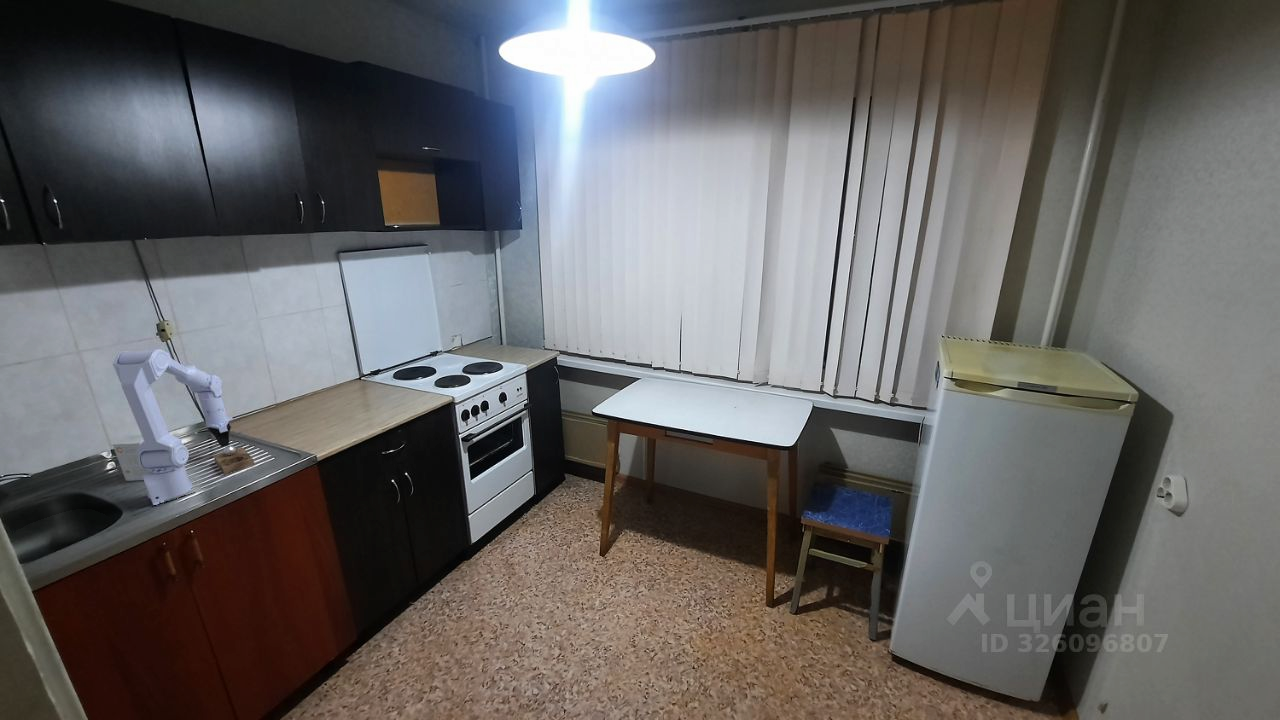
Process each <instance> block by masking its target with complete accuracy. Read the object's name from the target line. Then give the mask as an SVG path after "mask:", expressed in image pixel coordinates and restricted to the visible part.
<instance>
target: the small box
mask: <svg viewBox="0 0 1280 720" xmlns="http://www.w3.org/2000/svg"><path fill="white" fill-rule="evenodd" d="M143 442H144V439H143V436H142V434H140V435H129V436H126V437H125V438H122V439H120V440H119V441H116V442H114V443H113V444H112V445H111V446H112V447H113V449H114V452H115V455H116V458H117V461H118V462H119V465H120V466H119V467H120V468H121V471H122V473H123V476H124V479H125V481H126V482H130V481H144V480H143V477H142V475H144V474H147V473H149V472H148V471H147V469H143V468H142V467H141V466H140V465H139V463H138V453H137V451H136V449H137V448H138V446H139V445H140V444H142V443H143Z"/></svg>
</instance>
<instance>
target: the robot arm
mask: <svg viewBox="0 0 1280 720" xmlns="http://www.w3.org/2000/svg"><path fill="white" fill-rule="evenodd" d="M112 366H113V367H114V370H115V372H116V375H117V377H118V380H119V382H120V385H121V389H122V390H123V393H124V396H125V397H126V400H127V403H128V405H129V407H130V410H131V412H132V415H133V416H134V420H135V422H136V424H137V427H138V429H139V431H140V435H142V436H143V439H144V442H143V443H142V444H140V445H139V446H138V448H137V449H136V451H137V453H138V463H139V465H140V466H141V467H142V468H143V469H147V471H148V472H149V473H147V474H144V475H142V477H143V480H142V481H143V482H144V484H145V487H146V489H147V492H146V495H147V498H148V499H150V501H151V503H152V506H153V505H157V504H159V502H161V503H162V502H164V500H166V499H169V498H172V497H176V496H178V495H181V494H183V493H186V492H187V491H189V490H191V488H192V487H194V485H193V483H192V482H191V481H190V478H189V475H188V472H187V469H186V466H185V464H187V462H188V460H189V456H190V452H189V450H188V447H187V446H185V445H184V443H183V441H182V439H181V438H178V437H176V436H174V435H172V434H170V432H169V430H168V427H167V425H166V422H165V420H164V417H163V414H162V412H161V410H160V406H159V404H158V401H157V399H156V396H155V395H154V391H153V389H152V384H153V383H155V382H157V381H158V380H159V379H160V378H161V376H162V375H163V374H164V373H167V374H170V375H172V376H174V377H175V380H176V381H177V382H178V383H181V384H183V385H184V386H185V385H186V386H187V387H189V390H191V392H192V393H194V394H195V393H196V394H197V397H198V401H199V404H200V407H201V411H202V414H203V417H204V419H205V426H206V427H208V428H207V430H208V432H210V434H212V436H213V437H214V438H215V439H216V441H217V443H218V444H219V446H220V447H221V448H224V447H227V446H230V445H229V444H230V431H231V429H232V426H231V424H230V423H229V422H230V421H233V420H234V418H233V416H228V414H227V410H226V406H225V403H224V401H223V396H222V394H223V389H222V387H223V381H222V379H221V378H220V376H218V375H216V374H208V373H207V372H206V371H204V370H200V369H199V368H197V367H196V366H197V365H193V364H191V365H183V364H181V363H180V362H178V361H177V360H175V359H173V358H172V357H171V355H170V352H167V351H165V350H164V349H160V348H159V349H153V350H150V349H149V350H133V351H129V350H122V351H120V352H119V353H118V354H117V355H116V357H115V359H114V361H113V363H112ZM157 506H158V505H157Z"/></svg>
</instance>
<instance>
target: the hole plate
mask: <svg viewBox="0 0 1280 720" xmlns="http://www.w3.org/2000/svg"><path fill="white" fill-rule="evenodd" d="M235 449H236V451H235V453H234V454H232V455H226V454H224V452H222V453H219V454H215V455H213V459H214V462H215V464H216V466H217V467H218V468H219V470H220V471H221V472H222V473H223V475H224V476H227V475H230V474H232V473H231V472H234V471H237V472H239V471H238V470H240V471H242V470H241V469H243V470H245V469H244V468H246V467H248V466H251V465H254V464H255V461H254V458H253V457H252V456H251V455H250V454H249V453H248V451H247V450H246V449H244V447H242V446H241V447H239V448H235ZM246 469H247V468H246ZM229 473H230V474H229ZM234 473H235V472H234ZM226 474H227V475H226Z"/></svg>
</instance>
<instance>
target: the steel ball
mask: <svg viewBox="0 0 1280 720" xmlns="http://www.w3.org/2000/svg"><path fill="white" fill-rule="evenodd" d="M236 449H237V448H236V447H235V446H234V445H227V446H224V447H223V450H222V451H223V452H222V453H224V454H226V455H232V454H234V453H235V451H236Z"/></svg>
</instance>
